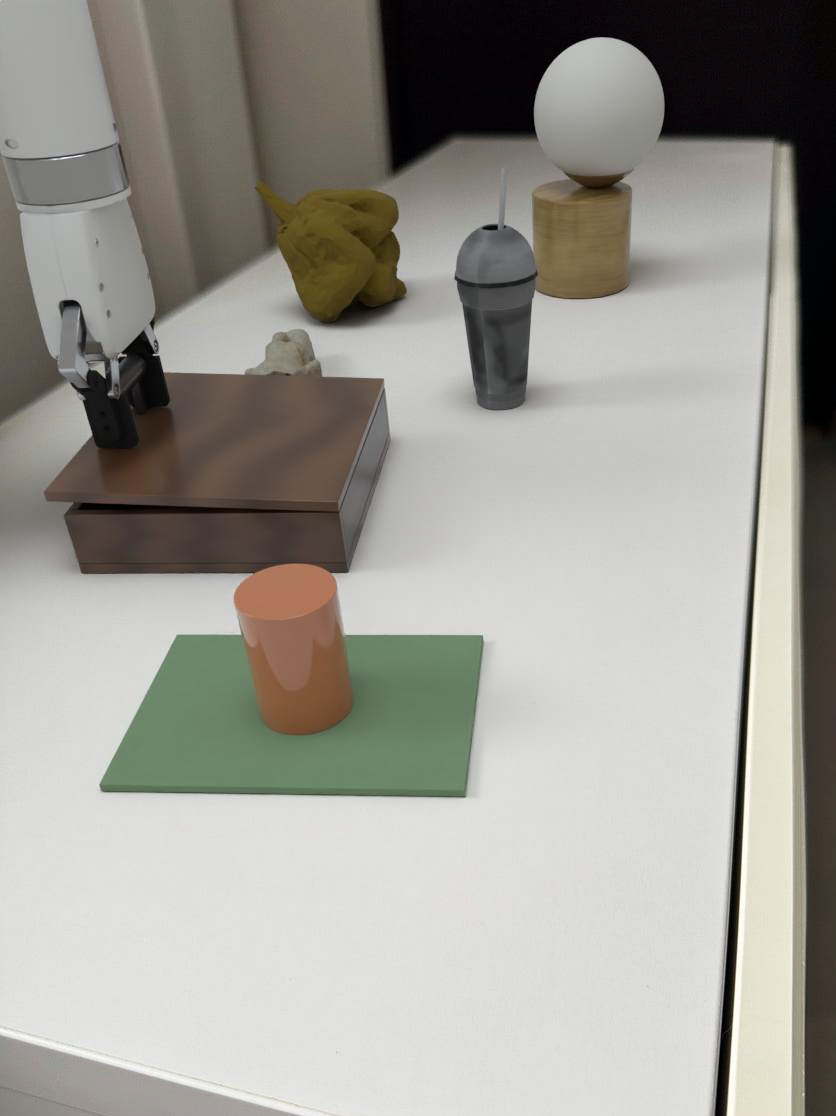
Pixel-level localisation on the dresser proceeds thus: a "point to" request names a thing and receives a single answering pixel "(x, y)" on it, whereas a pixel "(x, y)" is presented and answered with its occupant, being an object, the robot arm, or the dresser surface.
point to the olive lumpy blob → (339, 248)
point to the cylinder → (295, 647)
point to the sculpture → (289, 356)
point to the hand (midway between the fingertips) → (134, 423)
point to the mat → (313, 759)
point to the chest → (228, 528)
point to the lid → (230, 443)
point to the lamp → (591, 164)
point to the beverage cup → (497, 308)
